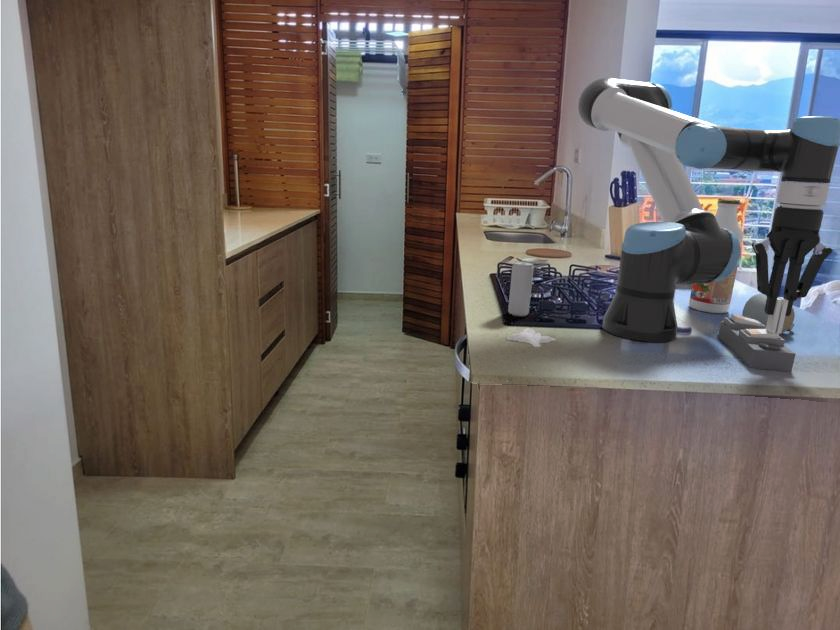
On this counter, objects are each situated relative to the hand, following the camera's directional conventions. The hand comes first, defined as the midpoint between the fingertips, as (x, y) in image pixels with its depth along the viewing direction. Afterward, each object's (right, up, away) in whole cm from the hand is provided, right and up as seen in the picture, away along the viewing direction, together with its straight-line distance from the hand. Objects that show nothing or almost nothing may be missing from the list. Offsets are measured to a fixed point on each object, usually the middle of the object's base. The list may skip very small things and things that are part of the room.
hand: (773, 331), depth 111 cm
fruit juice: (+7, +4, +39) cm, 40 cm away
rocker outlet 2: (-2, -1, +1) cm, 2 cm away
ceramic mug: (+13, 0, +23) cm, 26 cm away
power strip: (-1, -4, +5) cm, 7 cm away
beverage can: (-45, +3, +24) cm, 51 cm away
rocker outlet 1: (0, +2, +10) cm, 10 cm away
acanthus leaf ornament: (-45, -3, +5) cm, 46 cm away
